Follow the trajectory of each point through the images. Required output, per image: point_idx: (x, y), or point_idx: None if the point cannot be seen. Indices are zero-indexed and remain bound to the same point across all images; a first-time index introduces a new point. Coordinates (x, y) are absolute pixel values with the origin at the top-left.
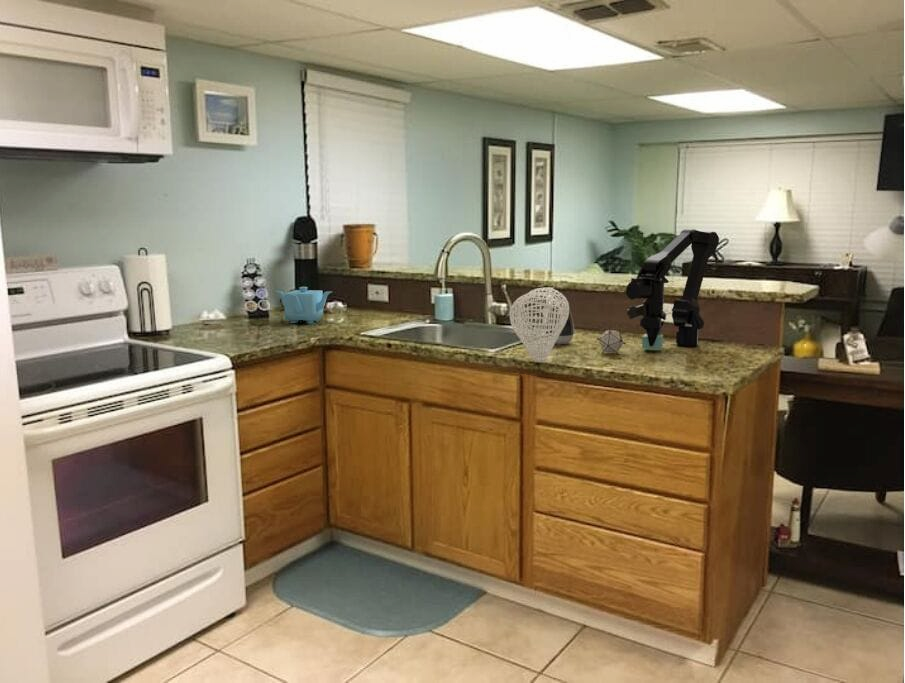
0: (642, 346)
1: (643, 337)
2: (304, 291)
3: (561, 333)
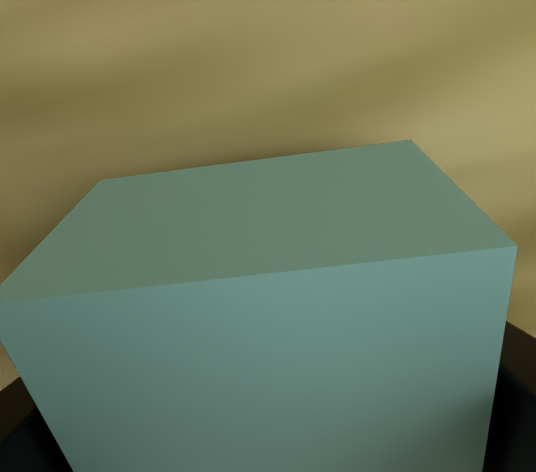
0: (90, 200)
1: (6, 313)
2: None
3: None
